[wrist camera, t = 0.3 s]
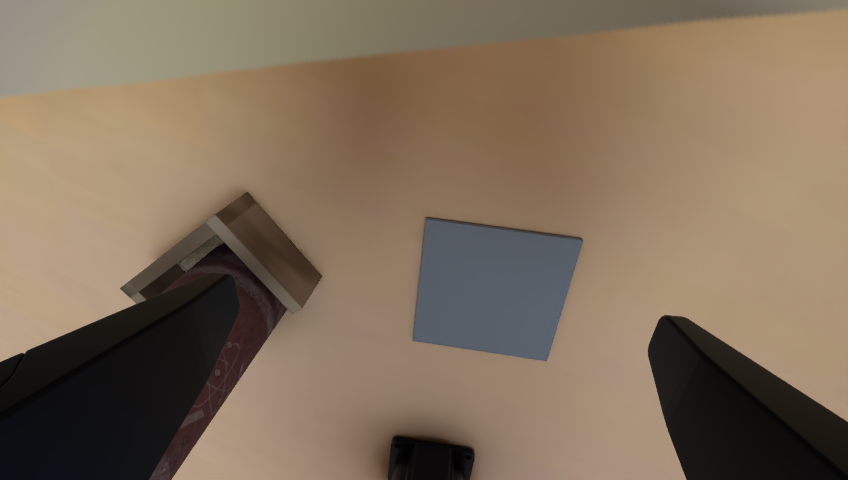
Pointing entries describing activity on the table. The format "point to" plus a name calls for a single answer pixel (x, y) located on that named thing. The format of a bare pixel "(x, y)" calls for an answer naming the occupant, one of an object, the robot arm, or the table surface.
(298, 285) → the bracket
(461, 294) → the mat
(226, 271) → the can
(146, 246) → the table surface
